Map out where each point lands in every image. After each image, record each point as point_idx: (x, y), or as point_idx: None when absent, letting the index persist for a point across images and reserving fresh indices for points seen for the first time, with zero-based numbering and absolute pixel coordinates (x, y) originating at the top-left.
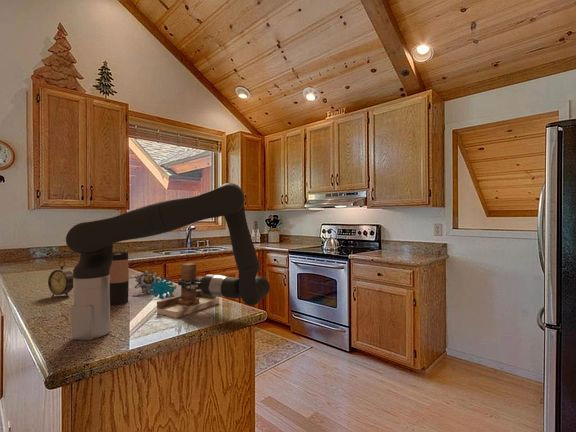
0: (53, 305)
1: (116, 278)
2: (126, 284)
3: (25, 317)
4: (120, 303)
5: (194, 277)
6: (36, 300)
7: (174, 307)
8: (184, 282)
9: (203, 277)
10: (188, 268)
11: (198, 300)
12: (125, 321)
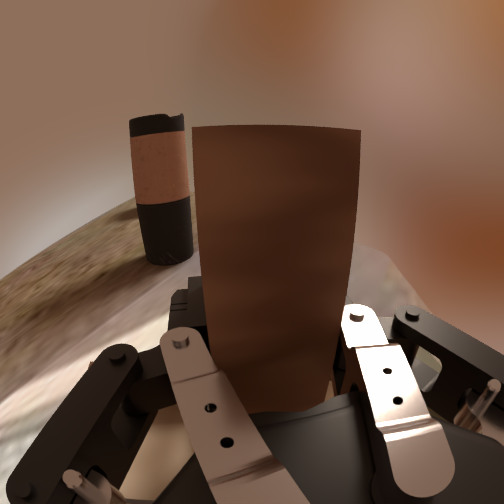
0: (112, 226)
1: (139, 190)
2: (169, 211)
3: (48, 247)
4: (159, 263)
5: (314, 318)
6: (129, 209)
7: (146, 446)
8: (61, 406)
9: (418, 387)
10: (195, 185)
11: None
12: (20, 376)
